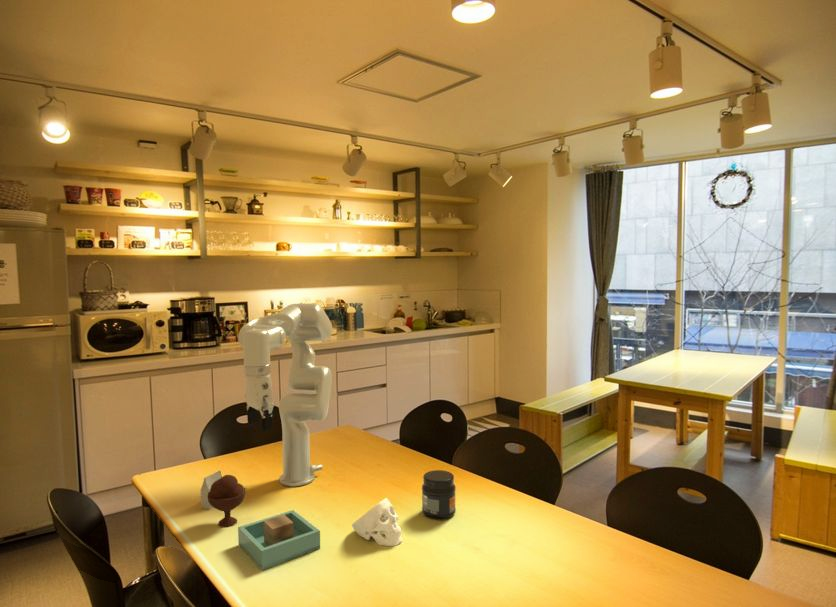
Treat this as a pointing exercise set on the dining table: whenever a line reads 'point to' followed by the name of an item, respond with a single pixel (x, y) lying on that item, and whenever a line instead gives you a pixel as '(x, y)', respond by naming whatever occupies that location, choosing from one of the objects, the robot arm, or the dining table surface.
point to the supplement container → (438, 495)
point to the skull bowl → (380, 524)
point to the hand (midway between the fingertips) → (259, 426)
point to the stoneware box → (283, 551)
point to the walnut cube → (278, 530)
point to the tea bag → (208, 489)
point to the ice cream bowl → (226, 497)
